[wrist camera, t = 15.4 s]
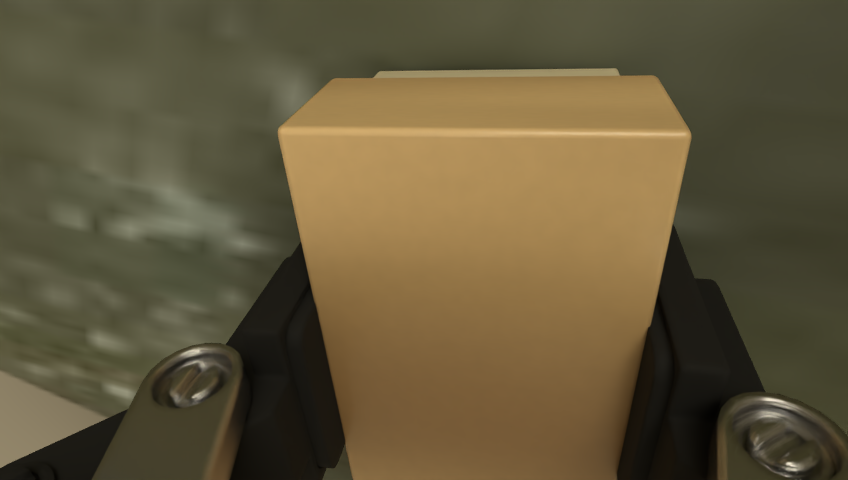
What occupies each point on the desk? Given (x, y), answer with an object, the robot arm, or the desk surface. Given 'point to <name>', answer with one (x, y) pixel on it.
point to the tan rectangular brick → (485, 262)
